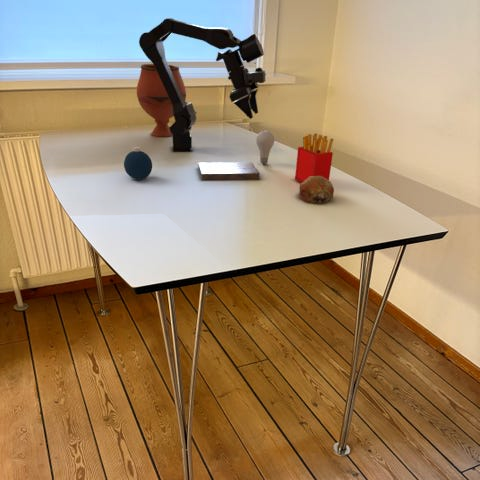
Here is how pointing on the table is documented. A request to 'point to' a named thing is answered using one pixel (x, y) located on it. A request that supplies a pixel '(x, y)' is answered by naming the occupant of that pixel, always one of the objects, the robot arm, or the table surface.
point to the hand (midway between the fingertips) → (254, 115)
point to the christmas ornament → (138, 164)
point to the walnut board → (228, 171)
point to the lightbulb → (264, 145)
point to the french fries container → (313, 158)
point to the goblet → (157, 97)
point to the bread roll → (316, 190)
